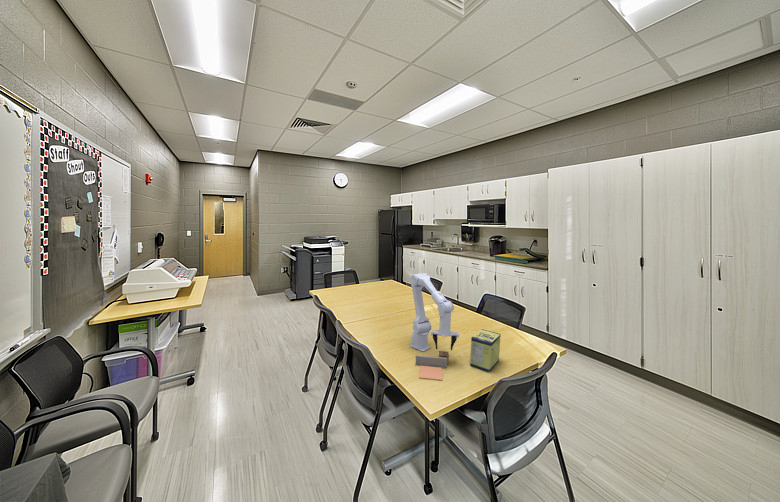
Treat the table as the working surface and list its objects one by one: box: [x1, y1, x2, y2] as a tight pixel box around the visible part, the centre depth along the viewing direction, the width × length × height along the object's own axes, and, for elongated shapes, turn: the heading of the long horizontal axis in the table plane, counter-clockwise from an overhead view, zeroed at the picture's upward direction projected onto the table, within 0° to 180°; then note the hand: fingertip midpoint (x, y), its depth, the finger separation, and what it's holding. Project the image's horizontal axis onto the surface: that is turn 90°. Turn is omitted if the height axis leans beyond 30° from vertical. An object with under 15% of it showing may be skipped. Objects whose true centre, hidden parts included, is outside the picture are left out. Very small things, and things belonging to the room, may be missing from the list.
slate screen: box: [415, 354, 448, 369], centre depth 146 cm, size 16×1×5 cm, turn 81°
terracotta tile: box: [418, 366, 443, 382], centre depth 139 cm, size 11×11×1 cm
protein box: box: [469, 328, 501, 373], centre depth 149 cm, size 10×16×16 cm
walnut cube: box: [438, 350, 450, 366], centre depth 150 cm, size 5×5×5 cm
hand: (443, 348), depth 150 cm, fingers open, 7 cm apart
